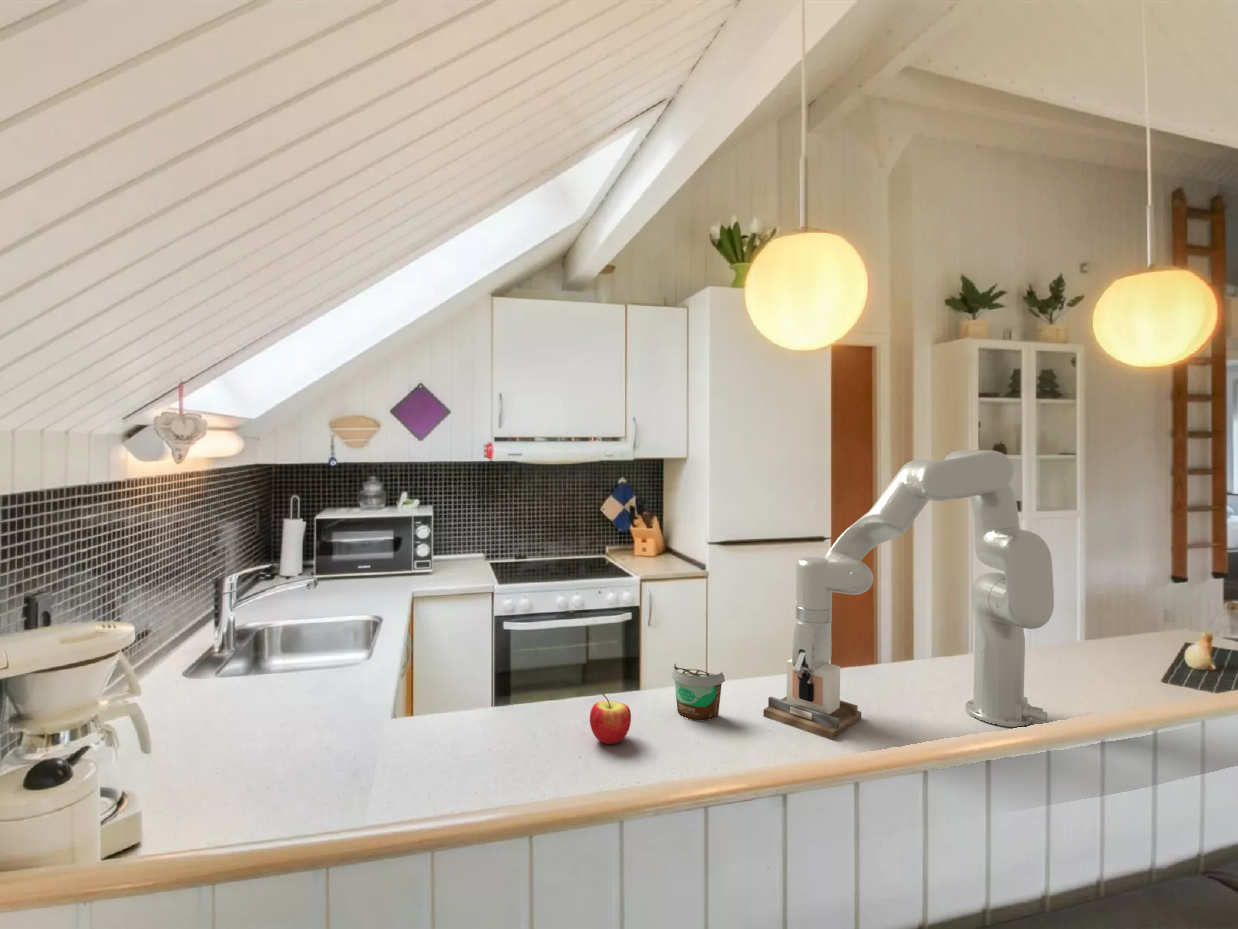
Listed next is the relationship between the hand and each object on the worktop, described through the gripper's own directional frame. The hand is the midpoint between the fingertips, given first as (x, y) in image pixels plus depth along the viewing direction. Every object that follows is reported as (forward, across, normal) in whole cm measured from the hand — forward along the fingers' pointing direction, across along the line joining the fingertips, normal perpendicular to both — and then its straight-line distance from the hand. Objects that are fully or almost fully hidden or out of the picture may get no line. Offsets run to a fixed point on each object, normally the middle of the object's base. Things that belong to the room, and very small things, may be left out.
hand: (812, 695), depth 137 cm
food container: (+5, +18, -19) cm, 27 cm away
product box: (+2, 0, 0) cm, 2 cm away
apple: (+5, +39, -24) cm, 46 cm away
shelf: (+5, 0, 0) cm, 5 cm away
